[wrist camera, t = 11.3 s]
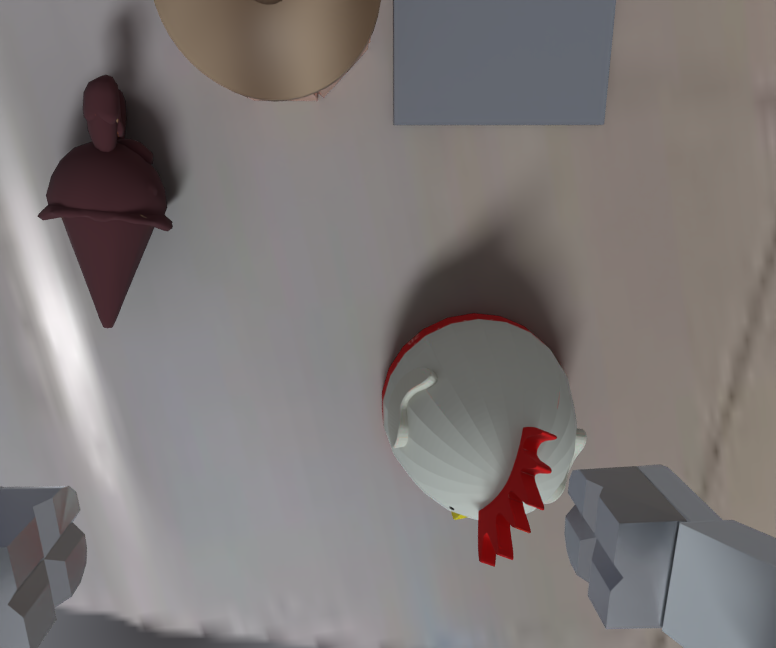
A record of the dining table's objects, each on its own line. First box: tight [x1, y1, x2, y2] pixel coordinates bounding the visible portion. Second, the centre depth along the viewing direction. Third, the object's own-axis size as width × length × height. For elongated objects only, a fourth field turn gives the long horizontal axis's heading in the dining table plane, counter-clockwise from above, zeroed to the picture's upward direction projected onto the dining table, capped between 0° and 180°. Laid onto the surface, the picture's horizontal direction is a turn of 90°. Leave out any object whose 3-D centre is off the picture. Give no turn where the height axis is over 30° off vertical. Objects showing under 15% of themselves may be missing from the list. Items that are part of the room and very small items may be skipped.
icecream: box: [38, 75, 173, 328], centre depth 35 cm, size 7×7×15 cm
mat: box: [393, 0, 616, 125], centre depth 35 cm, size 14×12×1 cm
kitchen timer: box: [382, 313, 587, 567], centre depth 36 cm, size 14×14×15 cm
